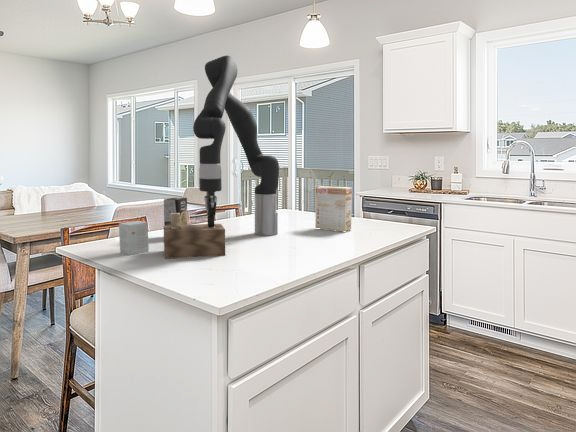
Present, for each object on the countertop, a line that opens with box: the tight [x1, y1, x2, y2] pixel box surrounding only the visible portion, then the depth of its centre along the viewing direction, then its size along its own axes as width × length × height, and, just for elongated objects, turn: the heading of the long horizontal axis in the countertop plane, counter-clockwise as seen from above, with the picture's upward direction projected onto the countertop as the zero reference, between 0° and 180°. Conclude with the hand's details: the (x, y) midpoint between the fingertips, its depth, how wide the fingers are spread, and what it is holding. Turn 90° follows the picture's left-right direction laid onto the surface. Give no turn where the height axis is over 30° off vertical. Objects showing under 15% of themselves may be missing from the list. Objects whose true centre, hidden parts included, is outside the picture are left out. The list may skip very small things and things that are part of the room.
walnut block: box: [163, 223, 226, 259], centre depth 158 cm, size 20×12×9 cm, turn 105°
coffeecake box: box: [314, 185, 353, 232], centre depth 206 cm, size 15×7×20 cm, turn 58°
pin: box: [171, 213, 180, 229], centre depth 156 cm, size 3×3×8 cm
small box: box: [118, 220, 150, 256], centre depth 159 cm, size 8×6×10 cm
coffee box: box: [163, 197, 189, 227], centre depth 185 cm, size 9×6×16 cm
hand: (211, 226), depth 159 cm, fingers closed
